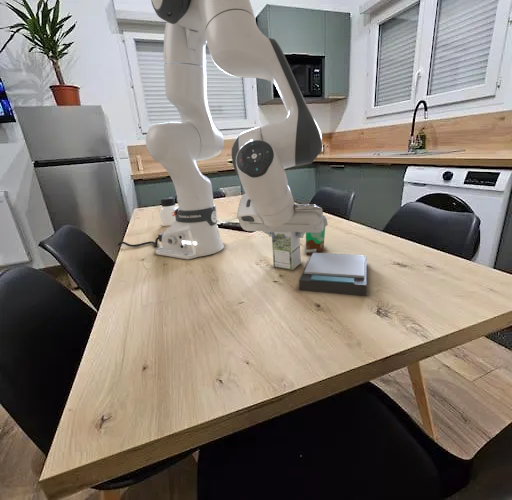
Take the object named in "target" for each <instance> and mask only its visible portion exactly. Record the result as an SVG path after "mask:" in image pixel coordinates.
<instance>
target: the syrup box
mask: <svg viewBox="0 0 512 500" xmlns="http://www.w3.org/2000/svg"><path fill="white" fill-rule="evenodd" d="M271 243H272V245H271V247H272V260H273V261H272V262H273V268H277V269H283V270H289V271H293V270H294V269H296V268H297V267H298V266H299V265H300V264H302V263H301V262H302V260H301V256H302V255H301V238H297V232H272V237H271Z"/></svg>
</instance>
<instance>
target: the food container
mask: <svg viewBox="0 0 512 500" xmlns="http://www.w3.org/2000/svg"><path fill="white" fill-rule="evenodd" d="M323 218H324V225H323V230H322V231H321V232H319V233H309V232H306V233H305V253H306V254H305V255H306V256H311V254H313V253H323V252H324V250H325V249H324V248H325V237H326V236H325V235H326V227H327V226H328V225H329V224H328V219H327V216H326V215H324V214H323Z"/></svg>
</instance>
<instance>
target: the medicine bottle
mask: <svg viewBox="0 0 512 500" xmlns="http://www.w3.org/2000/svg"><path fill="white" fill-rule="evenodd" d="M160 203H161V204H160V205H161V209H160V210H159V212H158V213H159V219H160V223H161V226H162V227H170V226H171V225H172V224H173V223H174V222H175V221H176V215H175V216H172V215H173V214H174V213H173V212H175V211H176V210H178V209H179V206H176V200H175V198H174V197H164V198H161V200H160Z"/></svg>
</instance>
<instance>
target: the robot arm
mask: <svg viewBox="0 0 512 500" xmlns="http://www.w3.org/2000/svg"><path fill="white" fill-rule="evenodd" d="M150 1H151V6H152V8H153V10H154V12H155V14H156V15H157V17H159V19H161V20H162V21H165V22H166V23H165V27H164V35H163V36H164V37H163V72H164V73H163V74H164V91H165V96H166V99H167V101H168V102H169V103H171V105H173V106H174V107H175V109H176V110H177V111H178V113H179V116H180V121H181V122H180V121H165V122H162V123H161V122H160V123H158V124H157V123H156V124H154V125H152V126H150V127H149V128H148V130H147V132H146V136H145V147H146V149H147V151H148V154H149V155H150V157H151V159H153V160H154V161H155V162H157V163H158V164H160V165H161V166H162V167H163V168H164V169H165V171H166V172H167V174H168V175H169V177H170V178H171V180H172V181H171V182H172V183H173V187H174V190H175V195H176V200H177V207H179V209H178V210H176V211H175V212H173V213H174V214H173V215H172V216H175V215H176V221H175V222H174V223H173V224H172V225H171V226H168V228H167V229H166V230H165V231H163V232H161V233H158V234H157V237H156V238H155V239H154V241H151V240H150V241H144V242H141V243H137V244H131V243H129V242H126V241H119V242H118V244H117V246H121V245H122V244H123V245H125V246H126V247H131V248H137V247H141V246H144V245H145V246H146V245H150V244H152V245H153V247H154V248H156V250H155V255H158V256H164V257H171V258H176V259H182V260H193V259H196V258H199V257H205V256H210V255H213V254H216V253H219V252H222V250H223V249H224V248H225V245H224V243H223V241H222V237H221V235H220V231H219V226H218V215H217V207H216V205H215V202H214V193H213V185H212V182H211V180H210V178H209V177H207V176H206V175H204V174H203V173H202V172H201V171H200V169H199V167H198V164H197V162H201V161H208V160H210V159H213V158H217V157H218V156H219V155H220V154H221V153H222V152H223V149H224V146H225V139H224V135H223V133H222V131H221V130H220V128H219V127H218V126H217V125H216V123H215V122H214V119H213V117H212V113H211V110H210V107H209V103H208V91H207V59H206V57H207V55H206V49H207V48H208V52H209V54H210V57H211V60H212V61H213V63H214V64H215V65H216V67H217V68H218V69H219V70H220V71H223V73H225V74H227V75H229V76H233V77H236V78H240V79H241V78H245V79H246V78H247V79H248V78H250V79H251V78H252V79H261V80H266V81H269V82H270V83H272V84H273V85H274V86H275V87H276V90H277V92H278V94H279V96H280V99H281V101H282V103H283V105H284V108H285V110H286V112H287V116H286V117H285V118H282V119H280V120H277V121H273V122H271V123H267V124H265V125H260V126H257V127H254V128H251V129H248V130H245V131H243V132H241V133H239V134H238V135H237V137H236V138H235V140H234V142H233V144H232V147H231V163H232V166H233V169H234V171H235V174H236V175H237V177H238V179H239V181H240V184H241V186H242V188H243V191H244V193H243V194H241V198H240V200H239V203H238V207H237V211H236V219H237V220H238V224H239V225H240V227H241V228H242V230H244V231H247V232H261V233H264V234H266V235H268V237H269V238H272V232H297V238H300V239H303V238H304V235H306V232H309V233H319V232H321V231H322V230H323V225H324V218H323V215H324V210H323V208H322V207H321V206H318V205H316V204H313V203H301V204H300V203H295V200H294V197H293V193H292V190H291V188H290V186H289V182H288V177H287V174H286V171H285V170H286V169H289V168H292V167H300V166H304V165H310V164H312V163H313V162H314V161H316V159H317V158H318V156H319V155H320V153H321V151H322V149H323V137H322V132H321V129H320V127H319V125H318V123H317V121H316V119H315V118H314V117H313V115H312V112H311V111H310V109H309V107H308V105H307V103H306V100H305V98H304V96H303V94H302V91H301V89H300V87H299V84H298V82H297V80H296V78H295V75H294V73H293V71H292V68H291V66H290V64H289V62H288V60H287V58H286V55H285V52H284V51H283V50H282V48H281V46H280V44H279V43H278V42H277V40H276V39H275V38H271V37H267V36H266V35H265V34H263V32H262V31H261V30H260V29H259V27H258V24H257V21H256V17H255V14H254V13H255V12H254V10H253V7H252V3H251V1H250V0H150ZM206 46H207V48H206ZM159 242H161V246H159V247H158V243H159Z"/></svg>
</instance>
